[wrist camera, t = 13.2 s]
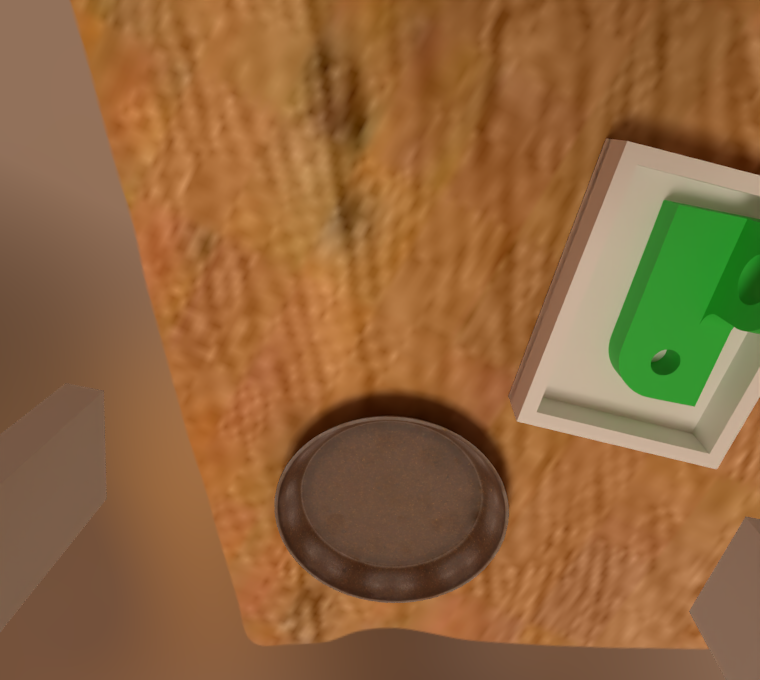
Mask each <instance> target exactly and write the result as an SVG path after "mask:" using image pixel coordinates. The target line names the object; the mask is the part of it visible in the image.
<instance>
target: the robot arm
mask: <svg viewBox="0 0 760 680" xmlns="http://www.w3.org/2000/svg"><path fill="white" fill-rule="evenodd" d="M105 463H106V461H105V422H104V391H103V390H98V389H93V388H87V387H82V386H77V385H72V384H67V383H65V384H64V385H63V386H62V387H60V388H59V389H58V390H56V391H55V392H54V393H52V394H51V395H50V396H49V397H47V398H46V399H45V400H44V401H42V402H41V403H40V404H38V405H37V406H36V407H35V408H33V409H32V410H31V411H29V412H28V413H27V414H26V415H24V416H23V417H22V418H20V419H19V420H18V421H17V422H15V423H14V424H13V425H12V426H10V427H9V428H8V429H7V430H5V431H4V432H3V433H1V434H0V632H1V631H2V629H3V628H4V627H5V626H6V624H7V623H8V622H9V620H10V619H11V618H12V617H13V615H14V614H15V613H16V612H17V610H18V609H19V608H20V607H21V605H22V604H23V603H24V602H25V600H26V599H27V598H28V597H29V595H30V594H31V593H32V592H33V590H34V589H35V588H36V587H37V585H38V584H39V583H40V582H41V580H42V579H43V578H44V577H45V575H46V574H47V573H48V572H49V570H50V569H51V568H52V566H53V565H54V564H55V563H56V562H57V560H58V559H59V558H60V556H61V555H62V554H63V553H64V551H65V550H66V549H67V548H68V546H69V545H70V544H71V543H72V541H73V540H74V539H75V538H76V536H77V535H78V534H79V533H80V531H81V530H82V529H83V528H84V526H85V525H86V524H87V522H88V521H89V520H90V519H91V518H92V516H93V515H94V514H95V513H96V511H97V510H98V509H99V507H100V506H101V505H102V504H103V502H104V501H105V500H106V464H105ZM689 612H690V614H691V616H692V618H693V620H694V621H695V623H696V625H697V627H698V629H699V631H700V633H701V634H702V636H703V638H704V640H705V642H706V644H707V646H708V648H709V649H710V651H711V653H712V655H713V657H714V659H715V661H716V662H717V664H718V666H719V668H720V670H721V672H722V674H723V676H724V677H725V679H726V680H760V519H756V518H750V517H745V519H744V520H743V522H742V524H741V525H740V527H739V529H738V530H737V532H736V534H735V535H734V537H733V539H732V540H731V542H730V544H729V545H728V547H727V549H726V550H725V552H724V554H723V556H722V557H721V559H720V561H719V562H718V564H717V566H716V567H715V569H714V571H713V572H712V574H711V576H710V577H709V579H708V581H707V582H706V584H705V586H704V587H703V589H702V591H701V592H700V594H699V596H698V597H697V599H696V601H695V602H694V604H693V606H692V607H691V609H690V611H689Z"/></svg>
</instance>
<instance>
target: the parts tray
mask: <svg viewBox="0 0 760 680" xmlns="http://www.w3.org/2000/svg"><path fill="white" fill-rule="evenodd" d="M663 200H668V201H672V202H677V203H682V204H687V205H692V206H697V207H702V208H707V209H712V210H717V211H722V212H727V213H732V214H737V215H742V216H747V217H751V218H756V219H760V175H756V174H753V173H749V172H745V171H741V170H737V169H733V168H730V167H726V166H722V165H718V164H714V163H710V162H706V161H703V160H699V159H695V158H691V157H687V156H683V155H680V154H676V153H672V152H668V151H664V150H660V149H657V148H653V147H649V146H645V145H641V144H637V143H634V142H630V141H624V140H615V139H607V138H606V140H605V143H604V145H603V148H602V151H601V153H600V156H599V159H598V161H597V164H596V166H595V169H594V172H593V174H592V177H591V180H590V182H589V185H588V188H587V190H586V193H585V196H584V198H583V201H582V203H581V206H580V209H579V211H578V214H577V217H576V219H575V222H574V225H573V227H572V230H571V232H570V235H569V238H568V240H567V243H566V246H565V248H564V251H563V254H562V256H561V259H560V261H559V264H558V267H557V269H556V272H555V275H554V277H553V280H552V283H551V285H550V288H549V291H548V293H547V296H546V298H545V301H544V304H543V306H542V309H541V312H540V314H539V317H538V320H537V322H536V325H535V327H534V330H533V333H532V335H531V338H530V341H529V343H528V346H527V349H526V351H525V354H524V356H523V359H522V362H521V364H520V367H519V370H518V372H517V375H516V378H515V380H514V383H513V386H512V388H511V391H510V393H509V399H510V402H511V405H512V408H513V411H514V414H515V417H516V420H517V421H518V422H522V423H526V424H530V425H534V426H538V427H543V428H547V429H551V430H555V431H559V432H563V433H568V434H572V435H576V436H580V437H584V438H588V439H593V440H597V441H601V442H605V443H609V444H613V445H618V446H622V447H626V448H630V449H634V450H638V451H643V452H647V453H651V454H655V455H659V456H663V457H668V458H672V459H676V460H680V461H684V462H688V463H692V464H697V465H701V466H705V467H709V468H713V469H717V468H718V467H719V465H720V463H721V461H722V460H723V458H724V456H725V455H726V453H727V451H728V450H729V448H730V446H731V445H732V443H733V441H734V439H735V438H736V436H737V434H738V433H739V431H740V429H741V428H742V426H743V424H744V423H745V421H746V419H747V417H748V416H749V414H750V412H751V411H752V409H753V407H754V406H755V404H756V402H757V401H758V399H759V397H760V334H756V333H751V332H746V331H741V330H739V329H737V328H735V327H734V328H733V329H732V330H731V332H730V334H729V336H728V338H727V341H726V343H725V345H724V347H723V349H722V351H721V353H720V355H719V357H718V359H717V361H716V363H715V366H714V368H713V370H712V372H711V374H710V376H709V378H708V380H707V382H706V384H705V386H704V388H703V391H702V393H701V395H700V397H699V399H698V401H697V403H696V405H695V407H694V406H689V405H683V404H678V403H673V402H668V401H663V400H658V399H653V398H648V397H645V396H642V395H640V394H638V393H636V392H634V391H633V390H632V389H630V388H629V387H628V386H627V385H626V383H625V382H624V381H623V380H622V378H621V377H620V376H619V374H618V373H617V372H616V371H615V369H614V368H613V366H612V364H611V362H610V358H609V351H608V348H609V341H610V338H611V335H612V332H613V330H614V327H615V325H616V322H617V319H618V317H619V314H620V312H621V309H622V307H623V304H624V301H625V299H626V296H627V294H628V291H629V288H630V286H631V283H632V281H633V278H634V275H635V273H636V270H637V268H638V265H639V263H640V260H641V257H642V255H643V252H644V250H645V247H646V244H647V242H648V239H649V237H650V234H651V231H652V229H653V226H654V224H655V221H656V219H657V216H658V213H659V211H660V208H661V206H662V203H663ZM666 351H667V350H662V351H660V352H658V353H657V354H656V355H655V356H654V357H653V358H652V360H651V362H656V361H658V360H660V359H661V358H662V357H663V356H664V355H665V354H666Z"/></svg>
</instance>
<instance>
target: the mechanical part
mask: <svg viewBox="0 0 760 680" xmlns="http://www.w3.org/2000/svg"><path fill="white" fill-rule="evenodd" d="M734 327H735V328H737V329H739V330H741V331H746V332H751V333H756V334H760V219H756V218H751V217H747V216H742V215H737V214H732V213H727V212H722V211H717V210H712V209H707V208H702V207H697V206H692V205H687V204H682V203H677V202H672V201H668V200H663V203H662V206H661V208H660V211H659V213H658V216H657V219H656V221H655V224H654V226H653V229H652V231H651V234H650V237H649V239H648V242H647V244H646V247H645V250H644V252H643V255H642V257H641V260H640V263H639V265H638V268H637V270H636V273H635V275H634V278H633V281H632V283H631V286H630V288H629V291H628V294H627V296H626V299H625V301H624V304H623V307H622V309H621V312H620V314H619V317H618V319H617V322H616V325H615V327H614V330H613V332H612V335H611V338H610V341H609V348H608V351H609V358H610V362H611V364H612V366H613V368H614V369H615V371H616V372H617V373H618V374H619V376H620V377H621V378H622V380H623V381H624V382H625V383H626V385H627V386H628V387H629V388H630V389H632V390H633V391H634V392H636V393H638V394H640V395H642V396H645V397H648V398H653V399H658V400H663V401H668V402H673V403H678V404H683V405H689V406H694V407H695V405H696V403H697V401H698V399H699V397H700V395H701V393H702V391H703V388H704V386H705V384H706V382H707V380H708V378H709V376H710V374H711V372H712V370H713V368H714V366H715V363H716V361H717V359H718V357H719V355H720V353H721V351H722V349H723V347H724V345H725V343H726V341H727V338H728V336H729V334H730V332H731V330H732V329H733V328H734ZM662 350H667V351H666V354H665V355H664V356H663V357H662V358H661V359H660V360H658V361H656V362H651V360H652V358H653V357H654V356H655V355H656V354H657V353H658V352H660V351H662Z"/></svg>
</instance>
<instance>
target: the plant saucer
mask: <svg viewBox="0 0 760 680" xmlns="http://www.w3.org/2000/svg"><path fill="white" fill-rule="evenodd" d="M508 517H509V505H508V498H507V494H506V490H505V488H504V484H503V482H502V480H501V478H500V476H499V474H498V472H497V471H496V469H495V468H494V466H493V465H492V463H491V462H490V461H489V460H488V458H487V457H486V456H485V455H484V454H483V453H482V452H481V451H480V450H479V449H478V448H477V447H475V446H474V445H473V444H472V443H470V442H469V441H468V440H466V439H465V438H463V437H461V436H460V435H458V434H457V433H455V432H453V431H451V430H449V429H447V428H445V427H443V426H440V425H438V424H435V423H432V422H429V421H425V420H422V419H417V418H412V417H406V416H395V415H381V416H371V417H365V418H360V419H355V420H351V421H348V422H345V423H342V424H340V425H337V426H335V427H333V428H330V429H328V430H326V431H324V432H323V433H321V434H319V435H317V436H316V437H314V438H313V439H311V440H310V441H309V442H308V443H306V444H305V445H304V446H303V447H302V448H301V449H300V450H299V451H298V452H297V453H296V454H295V455H294V456H293V457H292V459H291V460H290V461H289V463H288V464H287V466H286V467H285V469H284V471H283V473H282V475H281V477H280V479H279V482H278V485H277V490H276V495H275V518H276V523H277V527H278V530H279V533H280V536H281V538H282V540H283V542H284V544H285V546H286V548H287V549H288V551H289V552H290V554H291V555H292V556H293V558H294V559H295V560H296V561H297V562H298V564H299V565H300V566H301V567H302V568H303V569H305V570H306V571H307V572H308V573H309V574H311V575H312V576H313V577H314V578H316V579H317V580H319V581H320V582H322V583H323V584H325V585H327V586H329V587H330V588H333V589H335V590H337V591H339V592H341V593H344V594H347V595H350V596H353V597H357V598H360V599H364V600H369V601H377V602H385V603H388V602H390V603H405V602H414V601H421V600H426V599H431V598H434V597H438V596H440V595H443V594H446V593H448V592H451V591H453V590H455V589H457V588H459V587H461V586H463V585H464V584H466V583H468V582H469V581H471V580H472V579H473V578H475V577H476V576H477V575H478V574H480V573H481V572H482V571H483V570H484V569H485V568H486V567H487V565H488V564H489V563H490V562H491V561H492V559H493V558H494V557H495V555H496V554H497V552H498V551H499V549H500V547H501V544H502V542H503V540H504V537H505V534H506V530H507V525H508Z"/></svg>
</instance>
